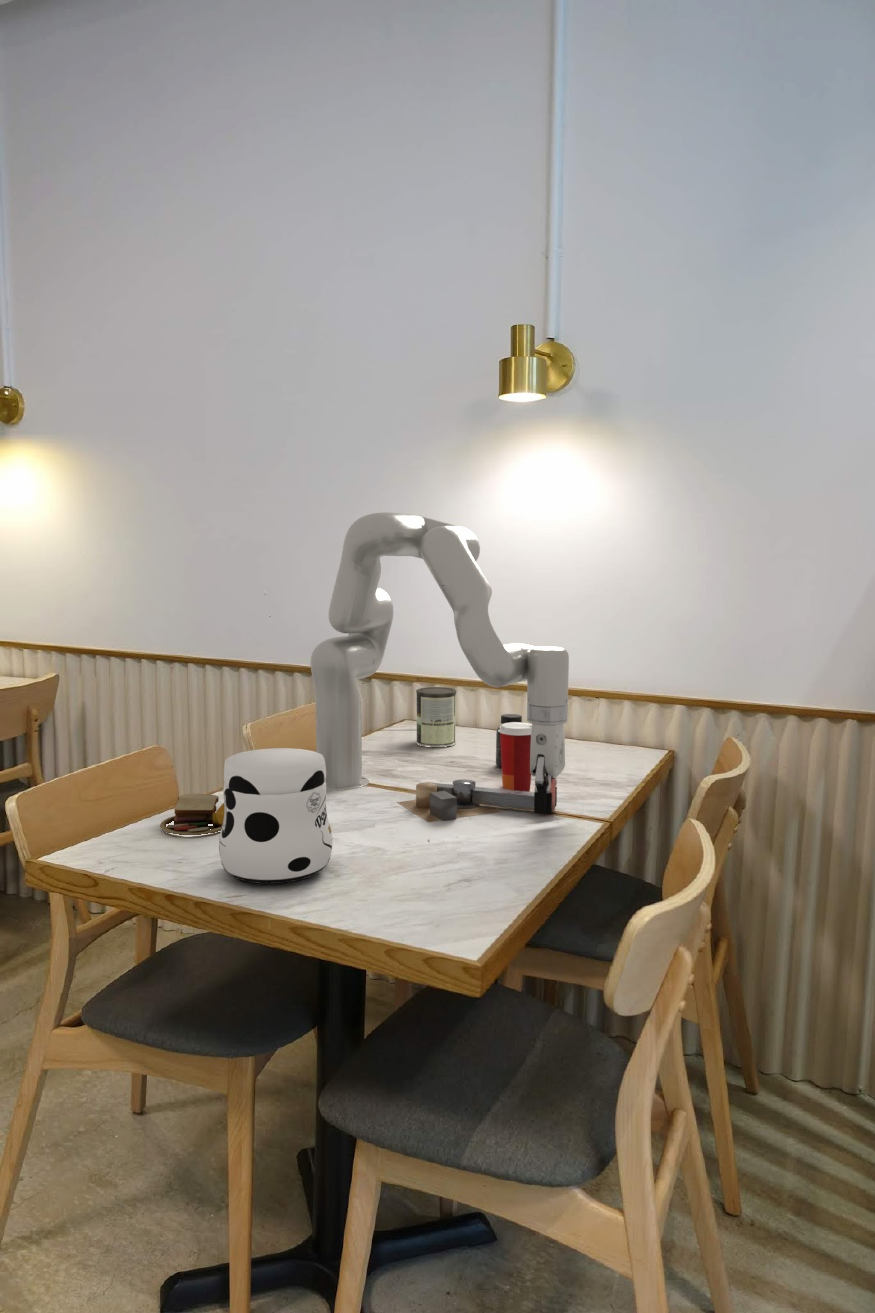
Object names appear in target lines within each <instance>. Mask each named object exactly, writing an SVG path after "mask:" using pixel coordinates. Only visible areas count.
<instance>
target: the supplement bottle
mask: <svg viewBox="0 0 875 1313" xmlns="http://www.w3.org/2000/svg"><path fill="white" fill-rule="evenodd" d="M522 716H523V715H521V714H515V713H504V714H501V715H500V724H501V725H500V726H502V724H504V723H510V722H521V723H523V717H522ZM500 726H498V728H496V732H495V734H496V735H495V765H496V767H497V768H499V769H502V763H501V739H500V732H498V730H499V729H500Z"/></svg>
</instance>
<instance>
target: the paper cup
mask: <svg viewBox="0 0 875 1313" xmlns="http://www.w3.org/2000/svg"><path fill="white" fill-rule="evenodd" d="M501 725H502V726H501ZM501 725H500V726H499V727H500V729H499V730H498V732H500V739H501V763H502V768H501V779H502V789H505V790H515V791H526V792H531V782H532V775H531V773H530V746H531V729H532V723H529V722H522V723H521V722H510V723H504V724H501Z"/></svg>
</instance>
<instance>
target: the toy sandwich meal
mask: <svg viewBox="0 0 875 1313" xmlns="http://www.w3.org/2000/svg"><path fill="white" fill-rule="evenodd" d="M219 800H220V799H219V796H218V795H215V794H210V793H187V794H181V795H178V796H177V802H176V805H175V807H174V815H173V816H170V817H168V818H166V819H164V820H162V822H160V824H159V826H160V829H161V830H162V831H163V832H164V833H166V832H167V833H173V834H179V835H201V834H208V833H215V832H218V831H221V829H222V825H223V821H224V802H223V803H222V804H221V805H220V806H219V808H217V803H219ZM172 821H174V825H168V826H167V827H166V824H169V823H171V822H172ZM208 824H213V826H208ZM210 829H211V830H210ZM167 833H166V834H167Z"/></svg>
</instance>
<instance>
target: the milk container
mask: <svg viewBox="0 0 875 1313" xmlns="http://www.w3.org/2000/svg"><path fill="white" fill-rule="evenodd" d="M223 781H224V782H223V783H224V785H223V789H222V790H223V803H224V821H223V825H222V829H221V832H219V833H220V834H219V837H218V838H219V839H218V851H219V856H220V861H221V865H222V867H223V868H224V871H225V872H227V873H228V874H229V875H230V876H232V877H234V879H238V880H241V881H245V882H248V883H255V884H256V883H257V884H282V883H283V884H284V883H291V882H296V881H301V880H303V879H306V878H310V877H314V875H317V874H318V873H320V872H321V871H322V870H324V869H325V868H326V867H327V865H328V863H329V861H330V859H331V855H332V849H333V831H332V828H331V825H330V822H329V817H328V811H327V790H326V766H325V760H324V757H323V755H322V754H320V753H317V752H316V751H315V750H308V749H303V748H289V747H280V748H279V747H278V748H277V747H276V748H261V749H252V750H246V751H242V752H238V753H236V754H232V755H229V756H228V757H227V758H226V759H225V760H224V767H223Z"/></svg>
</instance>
